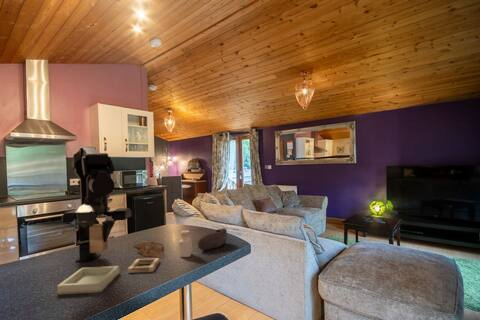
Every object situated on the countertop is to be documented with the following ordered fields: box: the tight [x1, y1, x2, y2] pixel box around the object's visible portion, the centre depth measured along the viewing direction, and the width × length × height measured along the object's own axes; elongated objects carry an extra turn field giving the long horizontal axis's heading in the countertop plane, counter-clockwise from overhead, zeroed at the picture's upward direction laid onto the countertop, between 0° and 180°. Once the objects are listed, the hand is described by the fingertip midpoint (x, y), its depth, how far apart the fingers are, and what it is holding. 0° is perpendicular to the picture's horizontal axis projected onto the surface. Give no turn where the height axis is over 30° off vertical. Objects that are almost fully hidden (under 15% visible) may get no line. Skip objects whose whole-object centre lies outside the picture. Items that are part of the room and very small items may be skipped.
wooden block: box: [89, 223, 108, 254], centre depth 78 cm, size 4×4×8 cm
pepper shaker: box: [178, 229, 193, 258], centre depth 97 cm, size 4×4×10 cm
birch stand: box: [127, 257, 160, 274], centre depth 88 cm, size 8×8×2 cm
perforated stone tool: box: [197, 227, 228, 251], centre depth 106 cm, size 15×5×7 cm, turn 131°
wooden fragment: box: [132, 240, 165, 259], centre depth 105 cm, size 26×11×1 cm, turn 34°
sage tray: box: [56, 265, 120, 296], centre depth 77 cm, size 12×12×2 cm
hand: (98, 242), depth 78 cm, fingers closed on wooden block, 4 cm apart
